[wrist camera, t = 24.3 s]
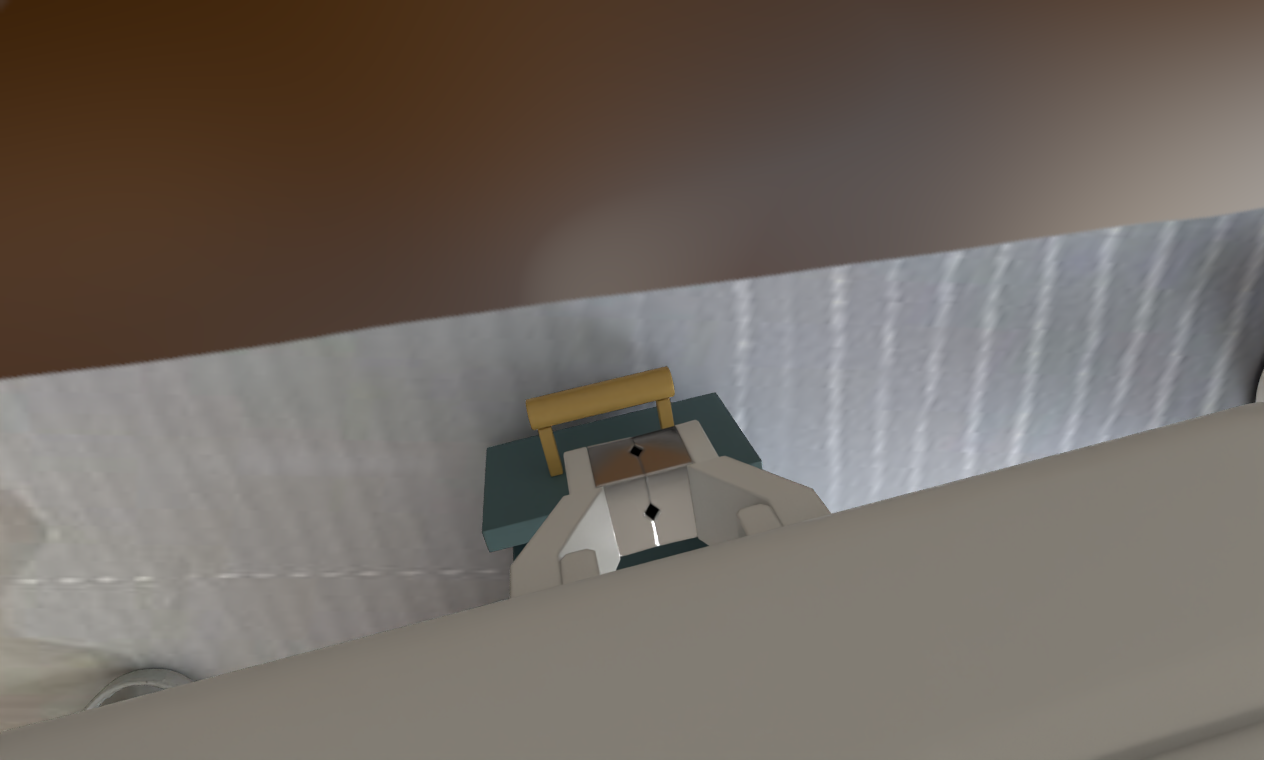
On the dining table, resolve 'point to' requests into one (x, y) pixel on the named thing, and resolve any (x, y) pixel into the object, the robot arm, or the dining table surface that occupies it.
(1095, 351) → the dining table surface
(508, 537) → the drawer
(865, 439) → the dining table surface
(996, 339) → the dining table surface
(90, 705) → the ceramic mug
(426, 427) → the dining table surface
